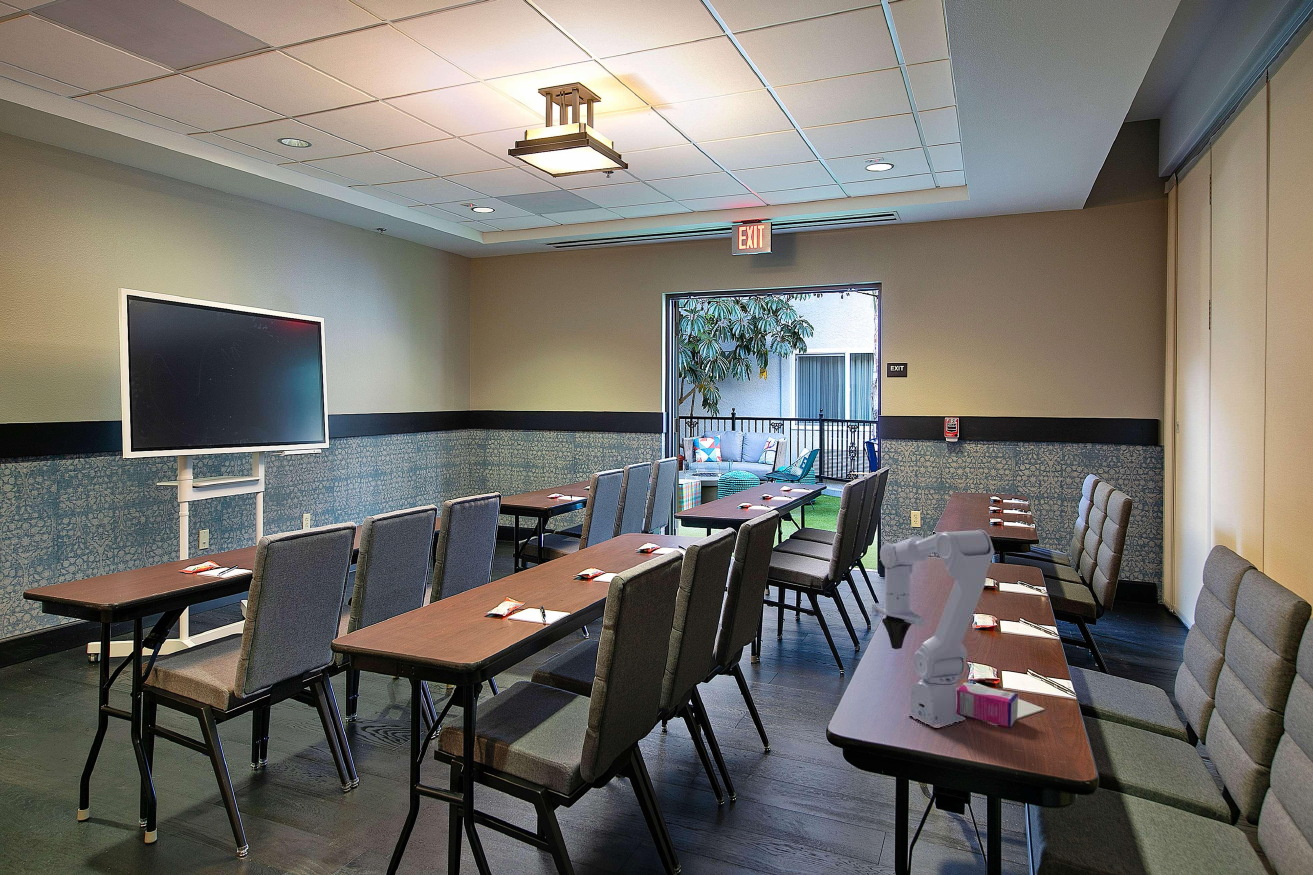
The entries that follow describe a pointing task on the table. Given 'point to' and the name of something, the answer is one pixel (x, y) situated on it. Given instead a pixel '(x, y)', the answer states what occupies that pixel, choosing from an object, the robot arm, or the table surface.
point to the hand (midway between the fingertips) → (896, 647)
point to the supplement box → (987, 704)
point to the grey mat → (1023, 708)
